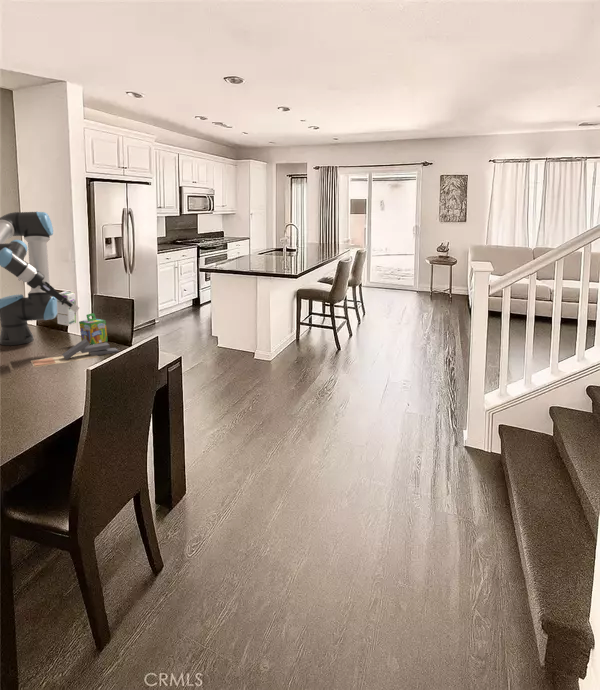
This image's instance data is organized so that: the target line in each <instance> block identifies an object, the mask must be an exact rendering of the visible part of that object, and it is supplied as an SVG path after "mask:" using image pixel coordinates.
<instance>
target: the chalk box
mask: <svg viewBox="0 0 600 690" xmlns="http://www.w3.org/2000/svg"><path fill="white" fill-rule="evenodd" d="M90 317H92V318H90ZM78 324H79V330H80V340H81V341H82V340H84V339H85V338H86V339H87V341H88V342H89V343H90V344H89V345H94V344H100V343H106V342H107V343H108V331H107V322H106V320H105V319H100V318H96V314H95V313H88V314H86V319H84V320H80V321H79V322H78ZM81 341H80V342H81Z"/></svg>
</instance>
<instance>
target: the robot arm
mask: <svg viewBox="0 0 600 690" xmlns="http://www.w3.org/2000/svg"><path fill="white" fill-rule="evenodd" d="M53 235H54V227H53V223H52V220H51V218H50V216H49V215H48V213H47V212H44V211H22V212H21V211H14V212H10V213H6V214H4V215H2V216H0V267H1V268H3V269H5V270H6V271H7V272H9V273H11V274H12V275H14V276H15V277H16V278H18V281H22V282H23V283H26V285H27V286H29V288H30V290H29V292H28V293H27V297H24V295H23V294H13V295H7V296H4V297H2V298H0V326H1V327H0V328H1V330H0V345H2V346H18V345H24V344H28V343H31V342H33V341H34V334H33V332H32V330H31V329H30V327H29V325H28V321H29V322H30V321H31V322H32V321H47V320H53V319H55V318H57V299H58V300H59V301H60V302H61V303H62V305H63V304H64V305H66V306H67V307H69V308H70V309H71V310H73V311H74V312H76V313H77V311H79V309H80V307H79V306H78V305H75V304H74V303H72V302H71V301H69V300H68V299H67V298H65V297H63V296H62V295H61V294H59V293H60V292H59V291H57V290H56V289H55V288H54V287H53V286H52V285H51V283H50V270H49V259H48V258H49V257H48V244H47V243H48V242H49V241H50V240H51V238H50V237H51V236H53ZM12 237H23V239H24V241H23V240H20V239H14V240H12V241H10V242H9V243H6V242H7V240H8V239H10V238H11V239H12ZM25 241H26V242H27V244H26V243H25ZM27 253H28V262H27V261H25V260H24V259H25V257H26V256H27ZM63 298H64V299H63ZM62 299H63V300H62Z"/></svg>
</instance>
